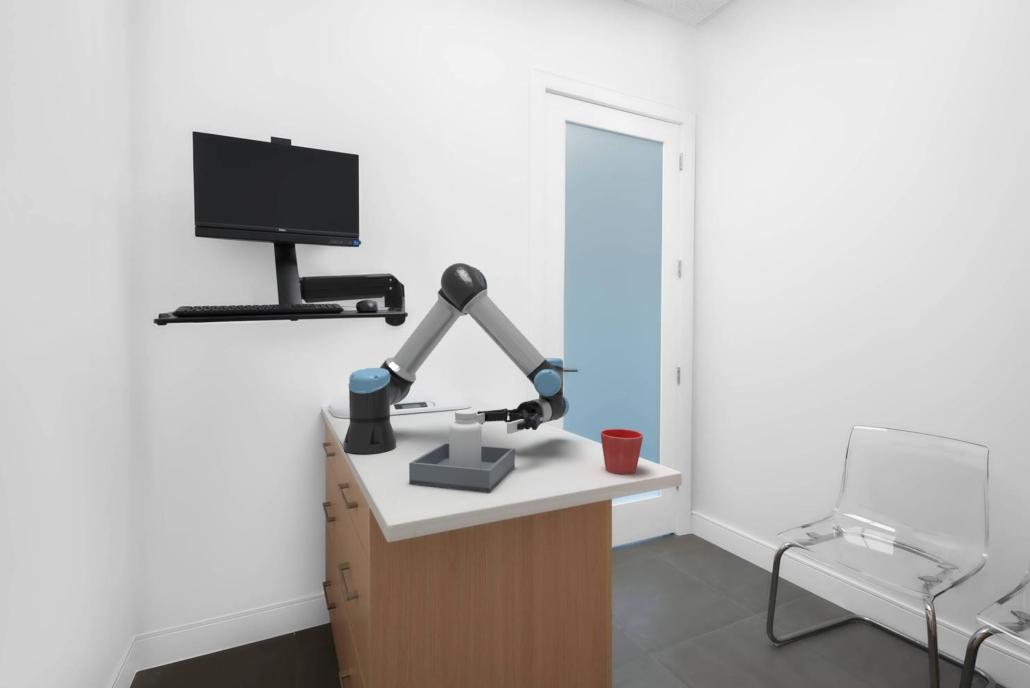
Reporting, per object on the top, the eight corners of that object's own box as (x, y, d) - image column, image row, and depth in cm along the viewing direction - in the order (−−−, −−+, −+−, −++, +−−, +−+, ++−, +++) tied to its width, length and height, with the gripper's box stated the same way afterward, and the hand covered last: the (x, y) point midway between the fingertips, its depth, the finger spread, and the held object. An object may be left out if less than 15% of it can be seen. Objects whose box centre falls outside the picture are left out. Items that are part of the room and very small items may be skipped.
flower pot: (636, 463, 134) (637, 428, 134) (646, 476, 123) (647, 438, 123) (597, 463, 134) (597, 428, 134) (603, 476, 124) (604, 437, 123)
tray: (409, 483, 117) (409, 463, 117) (444, 460, 136) (444, 442, 136) (489, 492, 111) (489, 470, 111) (514, 467, 131) (514, 448, 130)
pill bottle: (486, 468, 126) (486, 409, 125) (472, 477, 119) (473, 415, 118) (458, 465, 129) (458, 407, 128) (443, 474, 121) (443, 413, 121)
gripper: (569, 431, 140) (526, 446, 123) (500, 420, 155) (452, 432, 138) (569, 404, 140) (526, 416, 123) (500, 396, 155) (452, 405, 138)
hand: (487, 425), depth 130 cm, fingers open, 13 cm apart
